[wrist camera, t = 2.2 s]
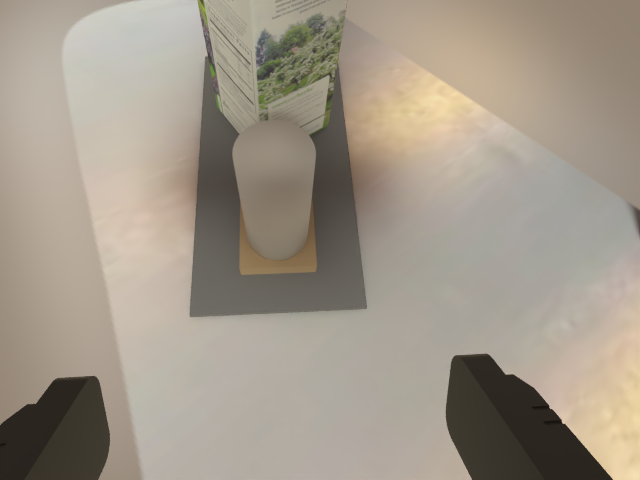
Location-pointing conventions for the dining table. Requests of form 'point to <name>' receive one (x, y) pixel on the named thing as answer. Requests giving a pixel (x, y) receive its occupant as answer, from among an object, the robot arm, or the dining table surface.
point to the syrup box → (273, 59)
